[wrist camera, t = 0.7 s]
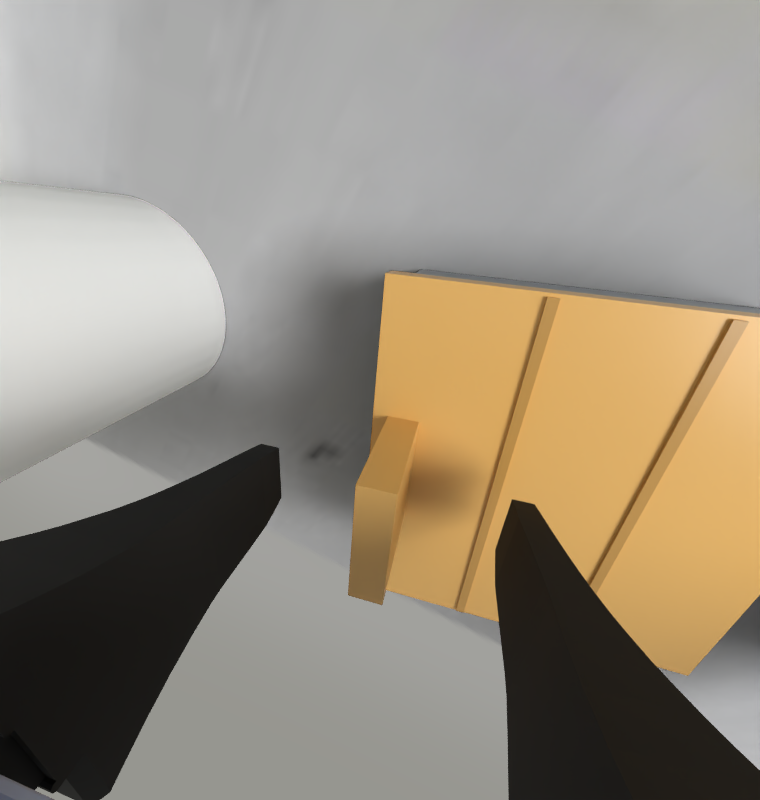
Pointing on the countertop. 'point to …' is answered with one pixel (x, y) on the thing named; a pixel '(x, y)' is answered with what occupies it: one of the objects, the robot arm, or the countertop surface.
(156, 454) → the countertop surface
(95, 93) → the countertop surface
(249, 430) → the countertop surface
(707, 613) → the lid
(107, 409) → the cylinder container
